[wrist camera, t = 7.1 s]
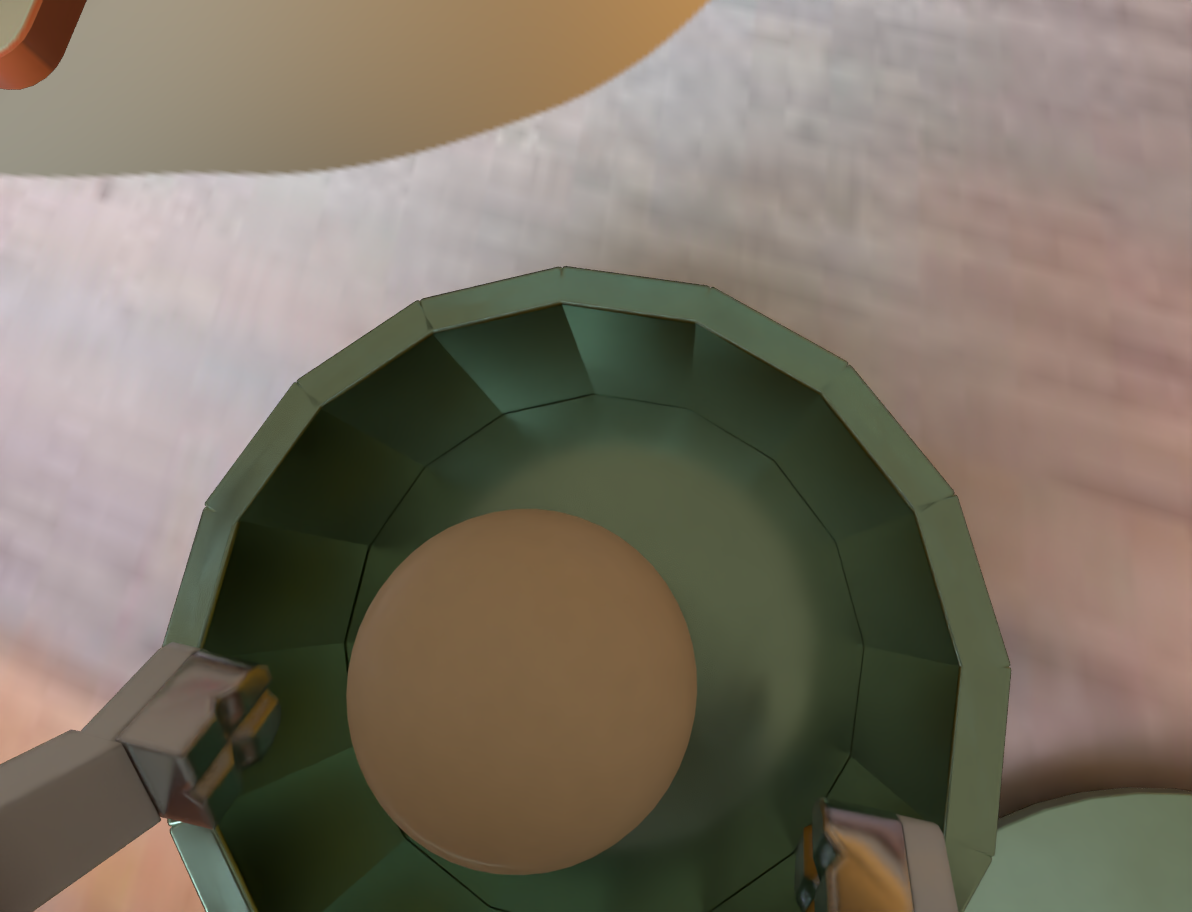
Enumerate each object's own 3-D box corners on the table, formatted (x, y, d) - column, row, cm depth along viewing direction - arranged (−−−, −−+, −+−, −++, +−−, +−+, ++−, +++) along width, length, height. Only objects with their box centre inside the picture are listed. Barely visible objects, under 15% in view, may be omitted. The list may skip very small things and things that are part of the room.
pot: (223, 717, 19) (4, 773, 13) (528, 286, 21) (466, 147, 15) (683, 1100, 16) (690, 1413, 10) (996, 563, 18) (1171, 540, 12)
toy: (471, 669, 18) (187, 757, 8) (571, 519, 19) (435, 407, 8) (620, 779, 17) (536, 1057, 7) (720, 619, 18) (792, 639, 7)
